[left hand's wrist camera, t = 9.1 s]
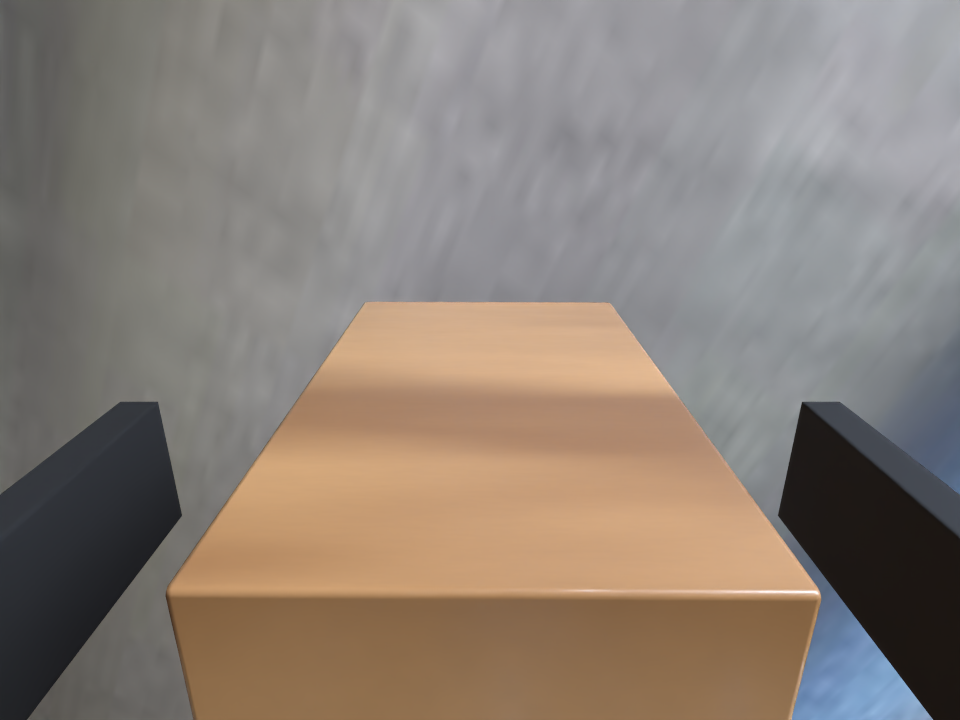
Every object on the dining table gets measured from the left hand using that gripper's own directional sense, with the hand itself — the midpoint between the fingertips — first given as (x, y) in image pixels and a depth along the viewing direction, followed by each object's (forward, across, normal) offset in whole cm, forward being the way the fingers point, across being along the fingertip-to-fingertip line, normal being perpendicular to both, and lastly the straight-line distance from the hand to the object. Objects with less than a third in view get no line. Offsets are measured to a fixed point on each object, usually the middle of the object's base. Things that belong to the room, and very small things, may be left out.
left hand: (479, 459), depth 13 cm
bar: (+2, 0, -11) cm, 11 cm away
